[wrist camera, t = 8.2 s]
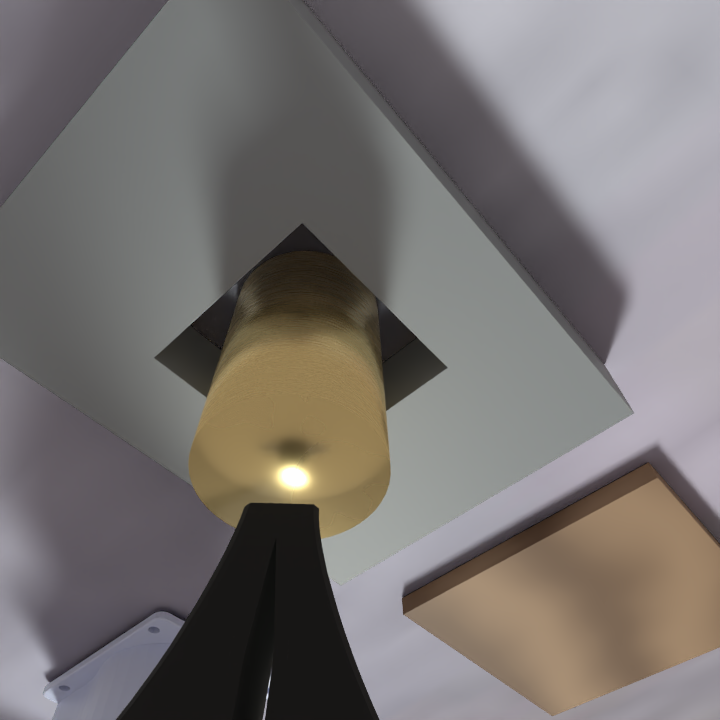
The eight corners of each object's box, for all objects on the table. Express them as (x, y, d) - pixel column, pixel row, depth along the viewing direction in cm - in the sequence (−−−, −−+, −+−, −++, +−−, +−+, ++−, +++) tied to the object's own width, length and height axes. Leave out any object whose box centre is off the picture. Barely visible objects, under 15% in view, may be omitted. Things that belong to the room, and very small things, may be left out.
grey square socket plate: (341, 532, 25) (341, 585, 23) (-30, 264, 18) (-79, 305, 16) (605, 366, 20) (634, 413, 18) (245, -70, 14) (226, -73, 12)
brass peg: (375, 374, 21) (385, 542, 15) (242, 372, 20) (201, 540, 15) (381, 252, 18) (396, 395, 12) (231, 249, 18) (174, 392, 12)
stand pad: (548, 700, 32) (552, 716, 32) (401, 598, 27) (403, 614, 27) (773, 604, 28) (783, 620, 27) (648, 462, 23) (657, 477, 22)
